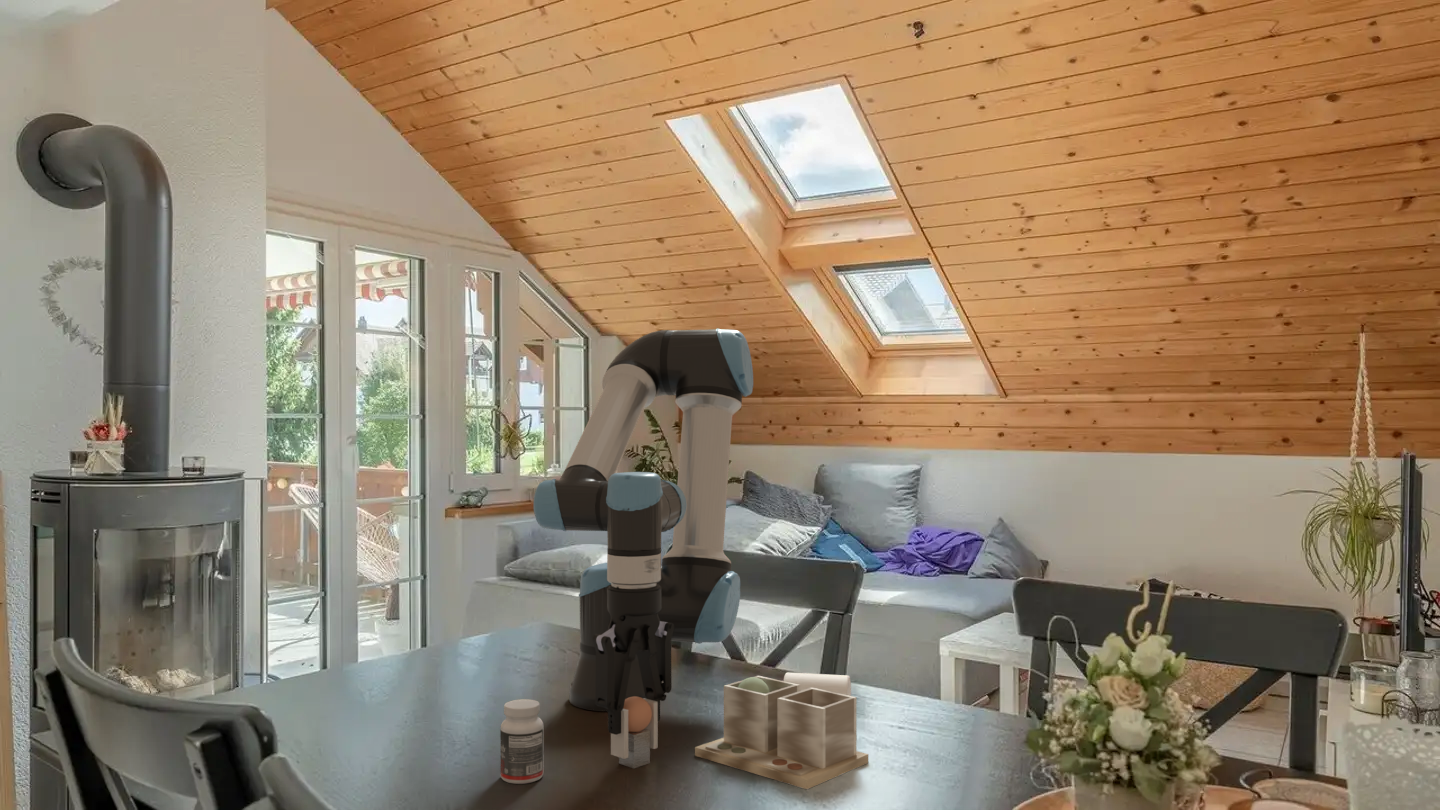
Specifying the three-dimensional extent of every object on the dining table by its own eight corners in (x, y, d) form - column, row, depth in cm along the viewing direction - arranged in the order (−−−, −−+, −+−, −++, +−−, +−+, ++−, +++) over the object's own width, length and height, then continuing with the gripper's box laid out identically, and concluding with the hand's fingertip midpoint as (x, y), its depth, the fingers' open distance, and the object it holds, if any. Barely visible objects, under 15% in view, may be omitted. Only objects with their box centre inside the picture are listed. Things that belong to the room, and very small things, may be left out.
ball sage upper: (740, 720, 158) (724, 691, 158) (758, 701, 162) (742, 673, 161) (763, 715, 155) (747, 686, 154) (781, 696, 158) (765, 668, 158)
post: (619, 763, 152) (619, 730, 152) (634, 758, 154) (634, 725, 154) (634, 768, 150) (634, 734, 150) (649, 763, 152) (649, 730, 152)
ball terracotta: (609, 731, 152) (609, 697, 152) (635, 724, 155) (635, 690, 155) (633, 739, 148) (633, 703, 148) (658, 731, 152) (658, 696, 152)
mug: (846, 735, 165) (846, 682, 165) (781, 731, 167) (781, 679, 167) (853, 713, 176) (853, 664, 176) (791, 709, 178) (791, 661, 178)
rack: (694, 755, 155) (694, 691, 155) (758, 733, 165) (758, 672, 165) (806, 789, 142) (806, 718, 142) (868, 762, 152) (868, 696, 152)
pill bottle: (503, 771, 149) (503, 698, 149) (545, 769, 149) (545, 697, 149) (498, 785, 143) (498, 710, 143) (541, 784, 143) (541, 709, 143)
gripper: (604, 595, 142) (604, 773, 143) (698, 578, 156) (698, 741, 156) (566, 588, 147) (566, 761, 148) (661, 573, 161) (661, 731, 161)
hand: (634, 750), depth 152 cm, fingers open, 5 cm apart
